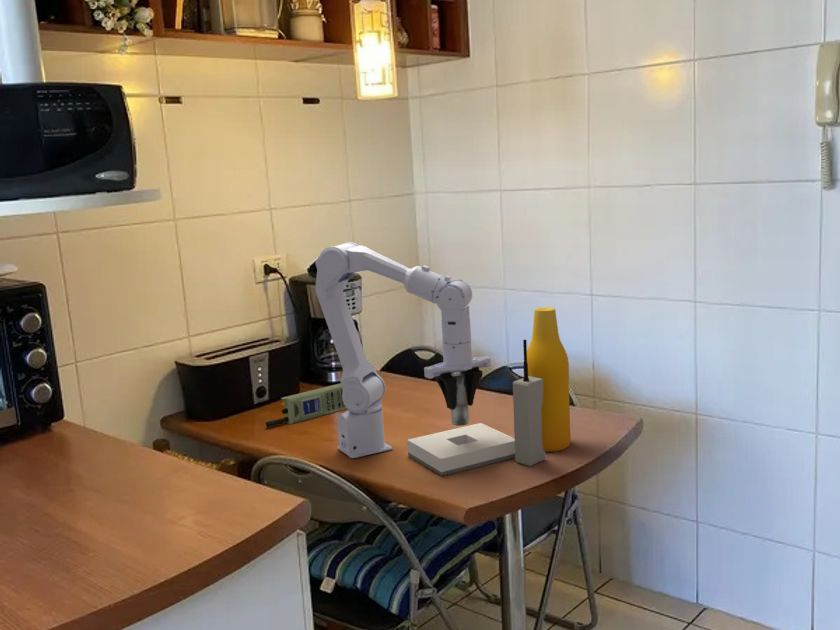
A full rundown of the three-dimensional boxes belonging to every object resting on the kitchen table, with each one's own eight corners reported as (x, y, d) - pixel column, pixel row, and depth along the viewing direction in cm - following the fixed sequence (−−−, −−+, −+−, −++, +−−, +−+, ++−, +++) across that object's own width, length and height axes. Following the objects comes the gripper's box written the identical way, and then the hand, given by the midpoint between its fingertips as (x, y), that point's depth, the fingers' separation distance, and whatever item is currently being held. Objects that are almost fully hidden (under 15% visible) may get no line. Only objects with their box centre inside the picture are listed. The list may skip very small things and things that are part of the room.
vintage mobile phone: (545, 459, 168) (542, 337, 163) (530, 466, 164) (526, 342, 160) (531, 455, 170) (527, 335, 166) (515, 462, 167) (510, 340, 162)
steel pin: (456, 426, 169) (453, 378, 168) (448, 422, 172) (445, 375, 171) (472, 423, 171) (469, 375, 169) (464, 419, 174) (461, 372, 172)
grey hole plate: (441, 476, 162) (440, 458, 161) (408, 455, 174) (407, 439, 174) (518, 456, 170) (518, 440, 170) (481, 438, 182) (480, 422, 182)
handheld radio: (358, 407, 211) (270, 431, 196) (351, 405, 214) (264, 429, 199) (356, 381, 210) (267, 403, 195) (348, 380, 213) (261, 401, 198)
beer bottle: (544, 434, 183) (541, 303, 177) (579, 443, 176) (577, 307, 171) (517, 446, 176) (512, 310, 171) (552, 455, 170) (548, 314, 164)
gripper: (435, 350, 162) (438, 418, 164) (498, 339, 168) (500, 404, 171) (417, 344, 168) (421, 409, 170) (479, 333, 174) (481, 396, 177)
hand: (459, 406), depth 171 cm, fingers closed on steel pin, 4 cm apart
